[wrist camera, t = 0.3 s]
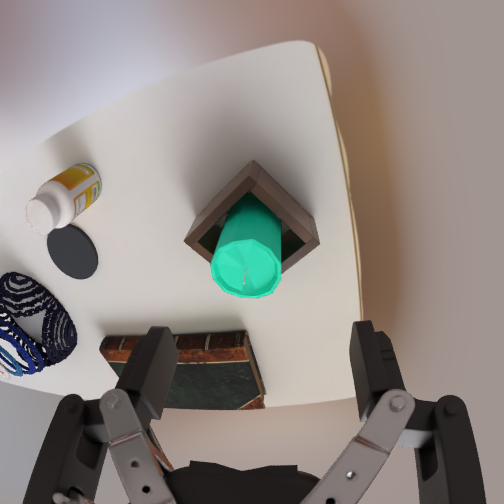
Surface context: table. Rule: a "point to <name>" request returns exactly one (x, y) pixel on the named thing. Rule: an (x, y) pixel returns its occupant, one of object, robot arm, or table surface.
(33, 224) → the supplement bottle
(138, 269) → the table surface
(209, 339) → the book
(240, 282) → the candle
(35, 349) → the decorative bowl
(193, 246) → the square wooden box
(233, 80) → the table surface
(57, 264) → the coaster
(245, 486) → the robot arm
